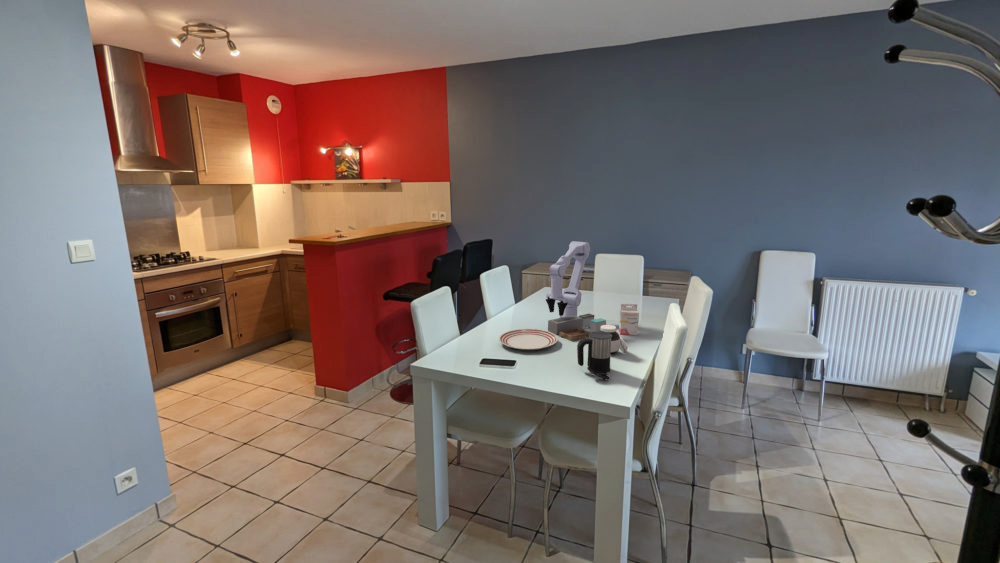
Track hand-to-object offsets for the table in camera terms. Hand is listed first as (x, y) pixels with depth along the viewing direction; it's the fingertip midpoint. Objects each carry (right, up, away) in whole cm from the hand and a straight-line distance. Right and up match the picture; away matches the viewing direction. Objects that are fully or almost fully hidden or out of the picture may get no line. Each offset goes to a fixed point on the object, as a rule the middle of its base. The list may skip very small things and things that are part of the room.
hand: (556, 313), depth 243 cm
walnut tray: (+8, -10, -12) cm, 17 cm away
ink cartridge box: (+35, -10, -8) cm, 37 cm away
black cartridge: (+16, -7, +5) cm, 18 cm away
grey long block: (+4, -8, -2) cm, 10 cm away
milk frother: (+10, -20, -57) cm, 62 cm away
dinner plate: (-16, -13, -21) cm, 29 cm away
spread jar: (+21, -15, -33) cm, 42 cm away
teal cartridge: (+20, -9, -4) cm, 23 cm away
